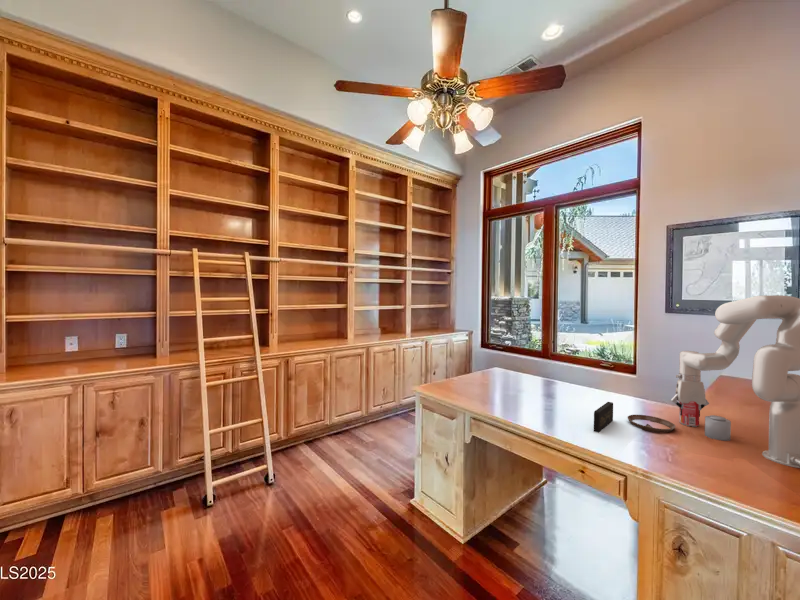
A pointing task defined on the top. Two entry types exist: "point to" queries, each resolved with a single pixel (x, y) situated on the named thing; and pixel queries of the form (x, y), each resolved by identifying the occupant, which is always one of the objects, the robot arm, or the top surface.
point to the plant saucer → (652, 419)
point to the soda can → (689, 414)
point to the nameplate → (603, 416)
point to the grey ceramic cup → (718, 428)
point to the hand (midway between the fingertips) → (689, 417)
